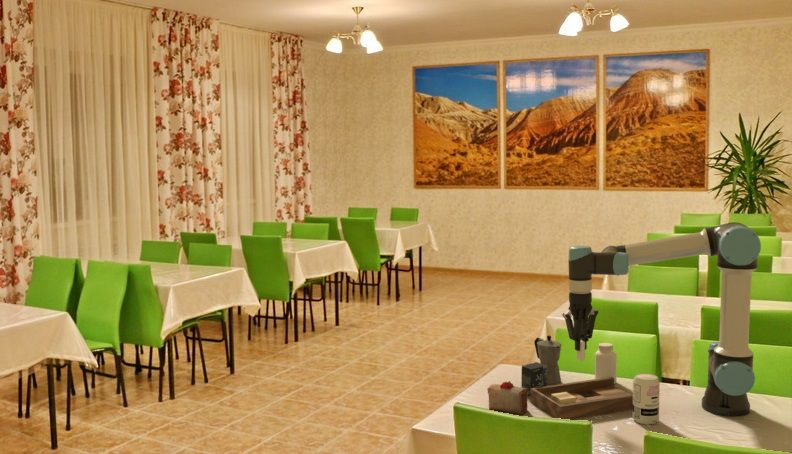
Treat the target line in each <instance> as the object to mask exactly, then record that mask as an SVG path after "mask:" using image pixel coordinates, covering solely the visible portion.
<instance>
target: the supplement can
mask: <svg viewBox="0 0 792 454" xmlns="http://www.w3.org/2000/svg"><path fill="white" fill-rule="evenodd" d="M660 383H661V382H660V380H659V377H658V375H655V374H653V373H637V374H635V375H634V378H633V379H632V394H633V410H632V419H633V420H634V422H636V423H638V424H641V425H645V426H649V424H652V425H656V424H657V423H658V422H659V421H660V386H661V385H660ZM656 422H657V423H656Z"/></svg>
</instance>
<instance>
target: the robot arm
mask: <svg viewBox="0 0 792 454" xmlns="http://www.w3.org/2000/svg"><path fill="white" fill-rule="evenodd" d="M761 249H762V244H761V240H760V238H759V235H758V234H757V233H756V232H755V230H753V229H752V228H750V227H748V226H747V225H745V224H743V223H741V222H735V221H734V222H727V223H723V224H719V225H714V226H710V227H706V228H705V227H704V228H702V230H700V231H699V232H694V233H687V234H680V235H675V236H669V237H663V238H658V239H652V240H646V241H639V242H634V243H627V244H622V245H608V246H605V248H603V249H602V251H601V252H596V251H595V252H594V251H593V250H592V247H591V246H589V245H573V246H571V247H569V250H568V261H567V262H568V290H569V292H568V301H569V307H568V309H567V311H566V312H563V313H562V317H563V318H564V320H565V325H566V329H567V334H568V337H569V340H571V341H573V342H574V350H575V351H576V359H577V360H578V361H581V362H582V361H586V350H587V348H588V346H587V343H588V342H589V340H590V339H592V337H593V335H594V334H593V333H594V330H595V329H594V328H595V323H596V319H597V316H598V314H599V310H596V309H594V308H593V305H592V302H593V299H592V298H593V293H592V290H593V281H592V275H596V276H597V275H601V276H602V275H605V276H617V277H619V276H628V274H629V269H630V268H629V267H630V266H637V265H643V264H650V263H655V262H656V263H657V262H661V261H662V262H663V261H668V260H675V259H681V258H689V257H695V256H702V255H707V256H708V257H715V256H716V257H717V258H716V267H717V268H718V270H719V271H721V287H720V289H721V290H720V313H719V315H720V316H719V340H718V341H711V342H709V344H708V350H707V352H708V358H707V359H708V365H707V366H708V367H707V385H706V388H705V392H704V394H703V397H702V398H701V408H702V409H704V410H705V411H707V412H709V413H712V414H716V415H720V416H727V417H729V416H730V417H741V416H740V415H742V416H746V415H748V414H750V413H751V404H750V401H749V398H748V394H747V393H749V392H750V391H751V390H752V389H753V387H754V385H755V383H756V382H755V381H756V376H755V372H754V370H753V368H754V352H753V351H752V350H751V349H750V347H749V346H750V345H749V341H750V340H749V339H750V321H751V320H750V318H751V298H752V297H751V295H752V275H753V273H754V272H756V270H758V262H759V261H758V258H759V256H760V253H761ZM745 414H746V415H745Z"/></svg>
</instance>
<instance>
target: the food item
mask: <svg viewBox="0 0 792 454" xmlns="http://www.w3.org/2000/svg"><path fill="white" fill-rule="evenodd" d="M487 394H488V409H489V410H490V409H492V410H491V411H501V412H504V413H505V412H506V413H512V414H518V415H522V416H523V415H525V413H527V411H528V395H527V388H521V387H520V386H515V385H514V384H513V383H511V380H509V381H505V382H502V383H501V384H497V383H492V384H490V385H489V386H488V388H487Z"/></svg>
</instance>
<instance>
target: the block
mask: <svg viewBox="0 0 792 454" xmlns="http://www.w3.org/2000/svg"><path fill="white" fill-rule="evenodd" d="M551 399H552V400H554V401H555V402H557V403H559V404H560V405H563V404H570V403H576V397H574V396H573V395H571V394H569V393H567V392H562V393H555V394H551Z"/></svg>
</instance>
